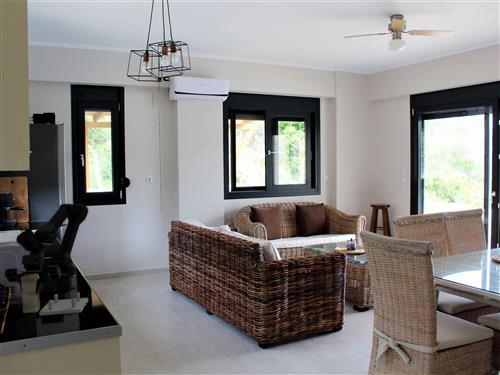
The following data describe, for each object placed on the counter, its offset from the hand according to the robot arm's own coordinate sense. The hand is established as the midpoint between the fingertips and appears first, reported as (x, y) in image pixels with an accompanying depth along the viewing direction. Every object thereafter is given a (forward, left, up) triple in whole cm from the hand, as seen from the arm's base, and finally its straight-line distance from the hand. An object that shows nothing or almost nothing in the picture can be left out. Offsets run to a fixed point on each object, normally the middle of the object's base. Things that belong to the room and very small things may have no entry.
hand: (29, 293), depth 173 cm
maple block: (-1, -1, -7) cm, 7 cm away
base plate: (-6, +10, -7) cm, 13 cm away
